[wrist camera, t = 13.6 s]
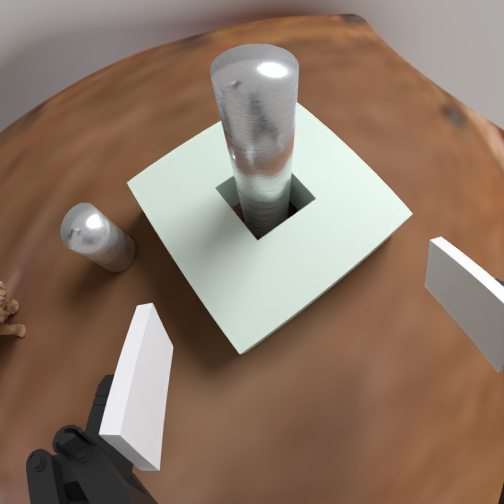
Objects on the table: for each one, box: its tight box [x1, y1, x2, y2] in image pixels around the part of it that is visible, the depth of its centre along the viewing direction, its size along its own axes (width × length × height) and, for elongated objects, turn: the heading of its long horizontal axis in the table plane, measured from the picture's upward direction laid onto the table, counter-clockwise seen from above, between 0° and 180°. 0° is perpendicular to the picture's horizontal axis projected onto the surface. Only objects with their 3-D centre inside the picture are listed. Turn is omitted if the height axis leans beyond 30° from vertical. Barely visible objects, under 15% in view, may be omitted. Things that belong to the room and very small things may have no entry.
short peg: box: [60, 203, 136, 272], centre depth 20 cm, size 3×3×6 cm
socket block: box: [127, 102, 412, 354], centre depth 21 cm, size 14×14×4 cm
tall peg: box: [210, 44, 299, 238], centre depth 16 cm, size 3×3×14 cm
